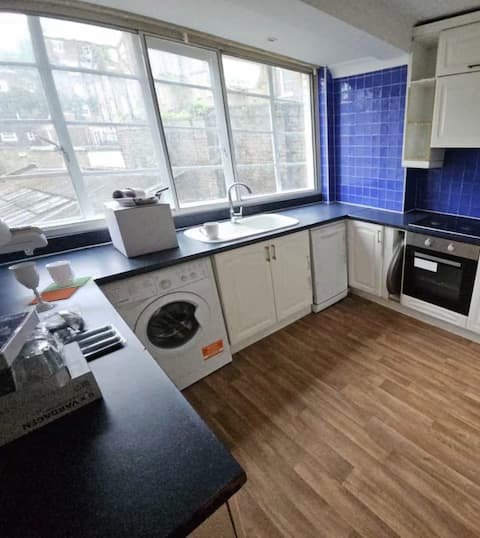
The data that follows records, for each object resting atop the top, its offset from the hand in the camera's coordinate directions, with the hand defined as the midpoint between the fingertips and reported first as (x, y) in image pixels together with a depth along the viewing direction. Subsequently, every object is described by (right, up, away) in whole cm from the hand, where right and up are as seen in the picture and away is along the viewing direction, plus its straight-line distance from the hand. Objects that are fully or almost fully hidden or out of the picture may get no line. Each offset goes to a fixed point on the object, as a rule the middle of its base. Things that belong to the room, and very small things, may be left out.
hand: (8, 256), depth 92 cm
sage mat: (-22, -11, +41) cm, 47 cm away
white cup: (-22, -11, +40) cm, 47 cm away
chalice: (-11, -19, +21) cm, 30 cm away
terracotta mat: (-17, -15, +30) cm, 38 cm away
